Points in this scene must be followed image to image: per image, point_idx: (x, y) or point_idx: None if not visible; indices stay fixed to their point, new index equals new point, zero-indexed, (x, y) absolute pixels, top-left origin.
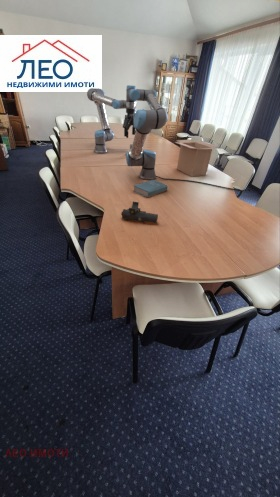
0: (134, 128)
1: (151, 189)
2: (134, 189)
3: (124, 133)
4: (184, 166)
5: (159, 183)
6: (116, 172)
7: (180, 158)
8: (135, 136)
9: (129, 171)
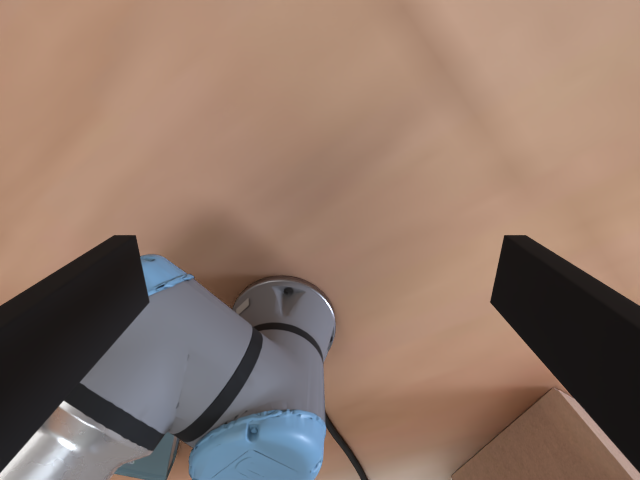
0: (599, 408)
1: None
2: None
3: (71, 271)
4: (522, 463)
5: (151, 456)
6: (213, 101)
7: (590, 468)
8: None
9: (307, 171)
